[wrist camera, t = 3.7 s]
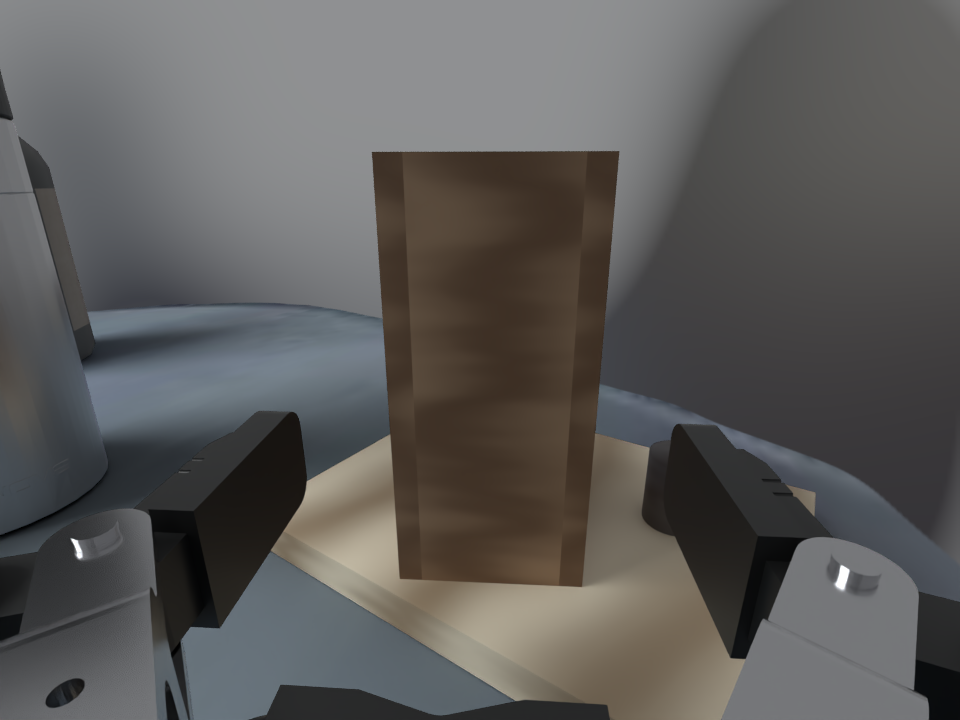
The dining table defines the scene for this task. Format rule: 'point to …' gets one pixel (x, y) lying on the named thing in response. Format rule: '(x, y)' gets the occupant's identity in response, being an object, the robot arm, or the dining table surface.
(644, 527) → the board
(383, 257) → the sleeve
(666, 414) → the dining table surface
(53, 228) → the liquor
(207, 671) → the dining table surface
